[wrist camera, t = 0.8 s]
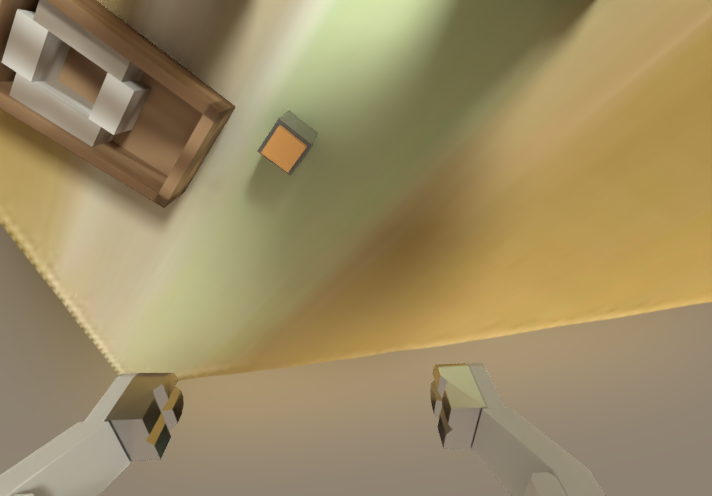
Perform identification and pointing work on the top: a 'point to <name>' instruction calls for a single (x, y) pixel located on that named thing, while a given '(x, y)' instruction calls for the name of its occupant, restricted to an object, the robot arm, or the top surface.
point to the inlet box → (107, 94)
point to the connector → (288, 142)
